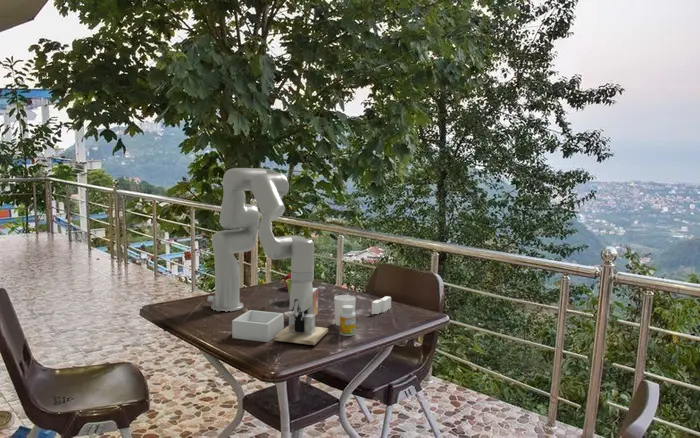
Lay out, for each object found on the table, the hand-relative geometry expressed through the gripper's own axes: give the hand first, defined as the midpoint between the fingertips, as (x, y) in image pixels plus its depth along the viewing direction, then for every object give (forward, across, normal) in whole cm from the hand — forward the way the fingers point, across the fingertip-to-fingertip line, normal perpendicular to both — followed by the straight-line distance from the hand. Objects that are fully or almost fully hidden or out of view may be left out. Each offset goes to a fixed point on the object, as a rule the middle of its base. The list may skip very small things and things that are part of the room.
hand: (301, 329), depth 171 cm
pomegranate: (+4, -65, -29) cm, 71 cm away
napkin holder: (+4, -41, +18) cm, 45 cm away
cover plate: (+2, 0, 0) cm, 2 cm away
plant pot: (+4, -45, -20) cm, 49 cm away
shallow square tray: (+3, 0, -16) cm, 16 cm away
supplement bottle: (+4, -10, +13) cm, 17 cm away
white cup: (+4, -20, +9) cm, 22 cm away
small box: (+4, -25, -7) cm, 26 cm away
